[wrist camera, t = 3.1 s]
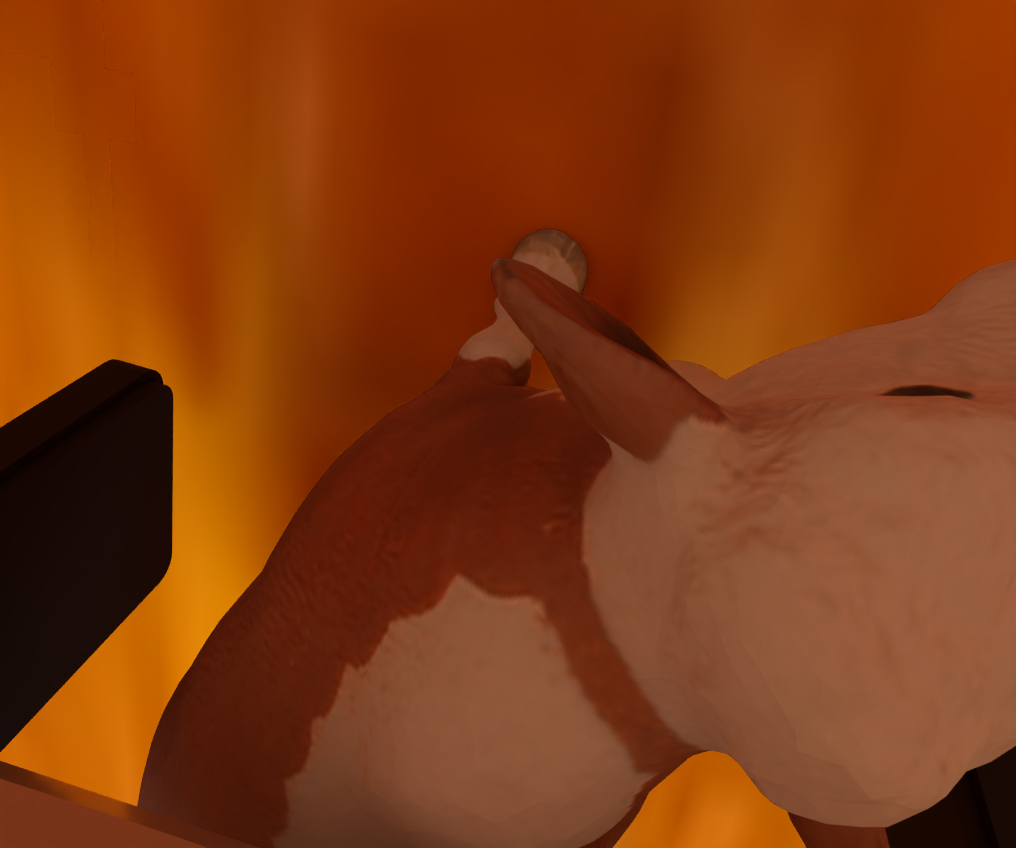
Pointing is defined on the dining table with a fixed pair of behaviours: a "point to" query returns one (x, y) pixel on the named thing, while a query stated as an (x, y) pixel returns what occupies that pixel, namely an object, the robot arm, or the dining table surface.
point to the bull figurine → (626, 590)
